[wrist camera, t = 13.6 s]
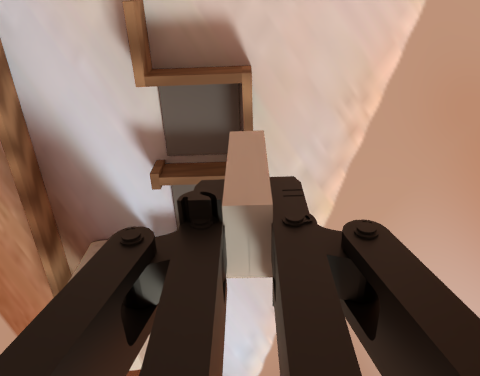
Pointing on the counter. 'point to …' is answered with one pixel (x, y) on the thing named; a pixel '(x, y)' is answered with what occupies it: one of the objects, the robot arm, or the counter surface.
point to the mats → (198, 122)
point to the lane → (35, 196)
